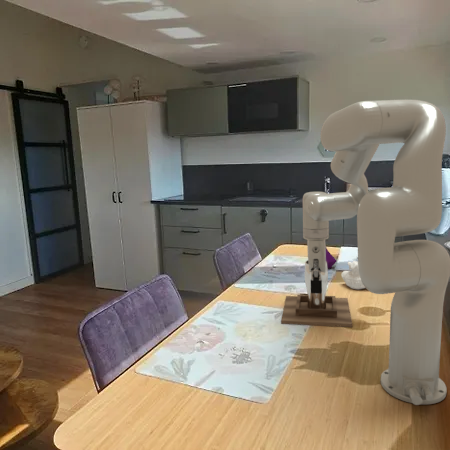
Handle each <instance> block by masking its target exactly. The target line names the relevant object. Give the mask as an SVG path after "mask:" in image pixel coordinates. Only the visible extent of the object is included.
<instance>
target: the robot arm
mask: <svg viewBox="0 0 450 450" xmlns="http://www.w3.org/2000/svg"><path fill="white" fill-rule="evenodd" d="M446 128H447V126H446V120H445V117H444V114H443V113H442V111H441V109H440V108H439V107H438V106H436V105H435V104H434V103H431V102H429V101H425V100H420V99H389V100H388V99H387V100H386V99H383V100H363V101H357V102H355V103H352V104H350V105H347V106H346V107H344V108H342V109H339V110H336V111H334V112H333V113H330V114H329V116H328V117H326V119H325V120H324V122H323V124H322V127H321V130H320V143H321V145H322V147H323V148H324V149H325V150H326V151H329V152H335V154H333V158H332V159H331V162H330V169H331V172H332V173H333V174H334V176H335V177H336V178H338V179H339V180H341V181H343V182H346V183H348V184H349V185H350V186H349V188H348V190H346V191H345V192H344V191H343V192H342V191H341V192H333V193H332V192H330V193H327V192H324V191H309V192H305V193H304V194H303V195H302V238H303V239H304V240H307V242H306V243H307V244H306V245H307V247H306V248H307V260H308V265H309V271H310V272H311V293H318V294H321V293H322V280H321V272H324V273H325V272H326V248H327V245H326V244H327V243H326V240H328V239H329V237H330V236H329V235H330V234H329V232H330V227H329V225H330V222H331V221H337V220H347V219H352V218H355V216H356V232H357V233H356V234H357V261H358V268H359V274H360V278H361V281H362V283H363V285H364V286H365V288H364V289H366V290H367V291H368V292H369V293H372V294H376V295H387V294H394V295H393V298H392V300H391V303H390V304H391V305H390V313H389V314H390V315H389V316H390V317H389V319H390V321H389V348H388V349H389V352H388V368H387V369H385V370H384V371H383V372H381V374H380V384H381V387H382V388H383V390H385V391H386V393H388V394H389V395H390V396H393V398H395V399H398V400H400V401H403V402H407V403H410V404H413V405H414V406H419V405H432V404H436V403H440V402H441V401H443V400H444V399H445V398H446V397H447V385H446V384H445V382H444V381H443V380H442V379H441V378H440V363H441V362H440V361H441V360H440V359H441V346H442V345H441V341H442V325H443V323H442V321H443V311H444V301H445V295H446V290H447V287H448V283H449V280H450V254H449V252H448V251H447V249H446V248H445V246H443V245H442V244H440V243H439V242H437V241H433V240H430V239H414V240H406V241H405V240H403V241H398V242H395V239H396V238H397V237H404V236H405V237H406V236H414V235H421V234H426V233H430V232H432V231H434V230H436V229H437V228H438V227H439V226H440V223H441V221H442V215H443V214H442V213H443V172H442V171H443V170H442V169H443V167H442V164H443V163H442V162H443V156H444V155H443V153H444V146H445V143H446V142H445V141H446V135H447V133H446V132H447V129H446ZM395 143H397V144H398V143H399V144H400V143H401V144H403V145H402V147H401V148H400V149H399V151H398V152H397V155H396V156H395V159H394V162H393V167H392V171H393V180H392V181H393V183H392V186H391V187H380V188H376V189H373V190H370V191H369V184H368V179H367V177H366V175H365V173H366V170H367V169H368V167H369V165H370V163H371V161H372V159H373V157H374V156H375V154H376V152H377V150H378V148H379V146H380V145H382V144H384V145H385V144H395ZM329 221H330V222H329ZM319 267H320V270H318V269H319ZM313 269H314V270H313ZM318 273H319V274H318Z"/></svg>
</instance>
